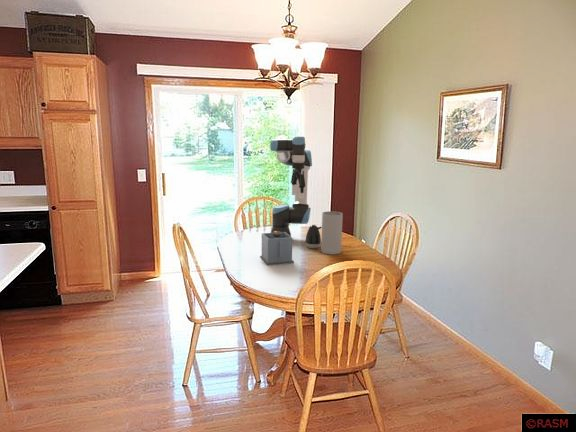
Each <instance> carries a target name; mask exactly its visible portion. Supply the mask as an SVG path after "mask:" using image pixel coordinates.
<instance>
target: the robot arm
mask: <svg viewBox="0 0 576 432" xmlns="http://www.w3.org/2000/svg"><path fill="white" fill-rule="evenodd" d="M269 148H270V149H269V150H270V151H271V152H275V154H276V158H277V160H278V162H280V163H281V164H282V165H286V166H289V167H291V168H292V173H291V179H290V184H291V195H292V196H294V203H293V204H292V206H290V205H289V204H280V205H274V207H273V208H272V213H271V214H272V226H271V227H272V228H271V230H270V233H273V232H274V231H280V232H286V233H287V234H288V235H290V236H291V237H292V233H291V230H290V224H291V225H293V224H294V225H295V224H296V225H307V224H309V222H310V216H311V207H310V204H308V177H309V175H308V173H309V170H310V169H311V167H313V161H312V160H313V159H312V152H311V150H310V149H308V150H307V149H306V137H305V136H294V135H293V136H292V139H287V138H286V139H281V138H279V139H278V138H275V139H274V138H273V139H270V142H269Z"/></svg>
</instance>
